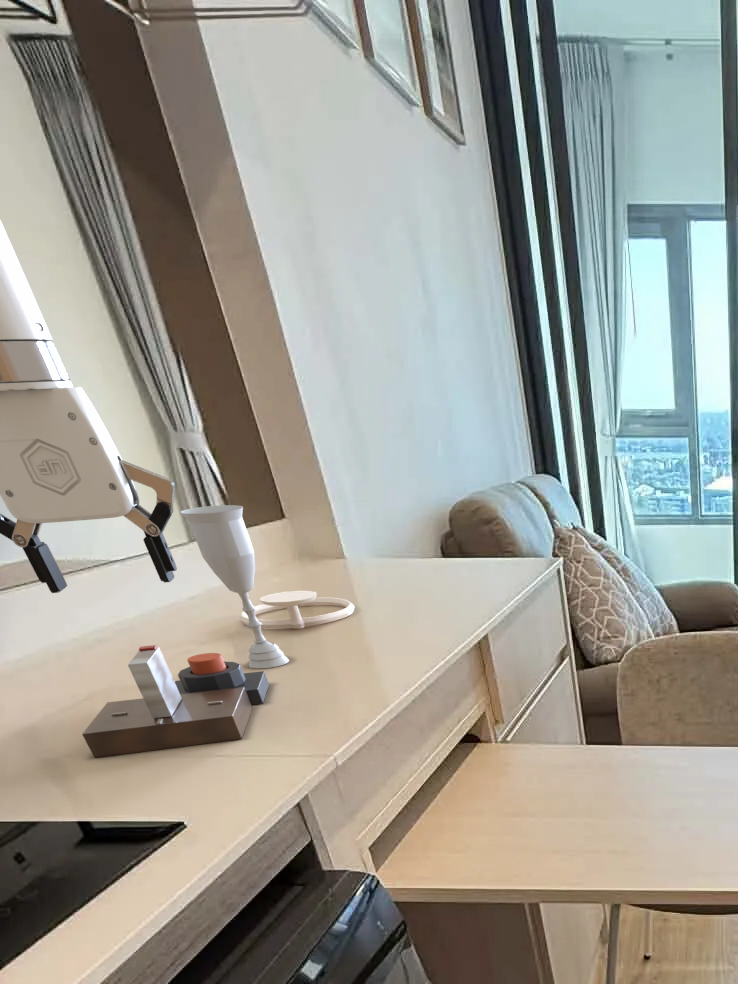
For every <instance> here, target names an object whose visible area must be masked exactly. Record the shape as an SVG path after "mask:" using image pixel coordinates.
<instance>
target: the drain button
mask: <svg viewBox="0 0 738 984" xmlns="http://www.w3.org/2000/svg"><path fill="white" fill-rule="evenodd" d="M186 661H187V663H188V665H189V667H190V668H191V670H192V672H193V674H196V675H202V674H212V673H216V672H220V671H224V670H226V669H227V668H226V665H225V663H224V662H225V660H224V658H223V656H222V654H221V653H217V652H206V653H199V654H195V655H192V656H190V657H188V658H187V659H186Z"/></svg>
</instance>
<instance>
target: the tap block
mask: <svg viewBox="0 0 738 984" xmlns="http://www.w3.org/2000/svg"><path fill="white" fill-rule="evenodd" d="M180 695H181V698H182V699H181V701H180V703H179V704H178V706H177V708H176V710H175V711H174V713H173V715H172V716H171V717H162V718H152V715H151V713H150V711H149V709H148V707H147V705H146V703H145V701H144V698H143V697H142V698H134V699H125V700H117V701H107V702H106V703H105V705H104V706H103V707H102V709H100V710H99V712H98V714H97V715H95V717H94V718H93V719H92V721H91V722H90V723H89V725H87V727H86V728H85V730H84V731H83V732H82V734H81V735H82V737H83V739H84V740H85V743H86V745H87V747H88V748H89V750H90V752H91V754H92V756H93V758H103V757H113V756H118V755H120V756H121V755H125V754H126V755H128V754H133V753H134V754H135V753H142V752H151V751H158V750H167V749H173V748H174V749H175V748H181V747H183V748H184V747H189V746H197V745H204V744H205V745H207V744H213V743H221V742H229V741H236V740H242V739H243V736H244V734H245V732H246V731H245V730H246V728H247V725H248V722H249V720H250V717H251V714H252V711H253V705H251V703H250V700H249V698H248V695H247V693H246V690H245V688H244V687H239V688H230V689H222V690H213V691H204V692H195V693H186V694H180Z"/></svg>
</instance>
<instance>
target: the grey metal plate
mask: <svg viewBox="0 0 738 984" xmlns="http://www.w3.org/2000/svg"><path fill="white" fill-rule="evenodd" d="M127 667H128V669H129V671H130V673H131V675H132V677H133V680H134V681H135V683H136V685H137V688H138V690H139V692H140V694H141V696H142V698H144V701H145V703H146V705H147V707H148V709H149V711H150V713H151V715H152V718H162V717H171V716H172V715H173V713H174V711H175V710H176V708H177V706H178V704H179V703H180V701H181V699H182V698H181V695H180V693H179V691H178V689H177V686H176V684H175V680H174V677H173V675H172V673H171V671H170V668H169V666H168V664H167V662H166V659H165V657H164V655H163V652H162V650H161V648H160V647H159V646H158V645H156V644H155V645H143V646H139V648H138V651H137V653H136V654H135V655H134V656H133V658H132V659H131V660H130V661H129V662H128V664H127Z"/></svg>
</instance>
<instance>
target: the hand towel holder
mask: <svg viewBox="0 0 738 984" xmlns="http://www.w3.org/2000/svg"><path fill="white" fill-rule="evenodd" d="M317 596H318V593H317V591H311V590H287V591H281V592H280V591H279V592H274V593H270V594H267V595H266V594H265V595H263V596H261V597H259V602H261V603H262V604H258V605H257V604H256V605H253V606H254V607H255V608H256V609H255V616H257V615H261V614H263V613H266V612H271V611H274V610H275V611H276V610H281V609H286V610H287V612H288V615H289V619H258V618H257V620H258V621H259V622H260V623H262V625H261V629H262V628H263V629H288V628H289V629H290V628H293V629H295V630H298V629H299V630H300V629H304V628H305V627H308V626H316V625H321V624H326V623H330V622H336V621H338V620H339V621H340V620H341V619H345V618H347V617H349V616H351V615H352V614H353V613H354V611H355V605H354V604H353V603H352V601H350V600H349V599H345V598H338V597H326V596H325V597H322V596H321V597H317ZM307 606H337V607H344V608H342V609H339V610H337V611H332V612H328V613H325V614H320V615H314V616H309V617H302V616H301V613H300V610H299V607H307ZM239 619H240V621H241V622H242V623H243V624H244V625H246V626H248V624H249V617H248V616H247V614H246V613H245V612H244V611H243V610H242V612H241V613H240V615H239Z"/></svg>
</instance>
